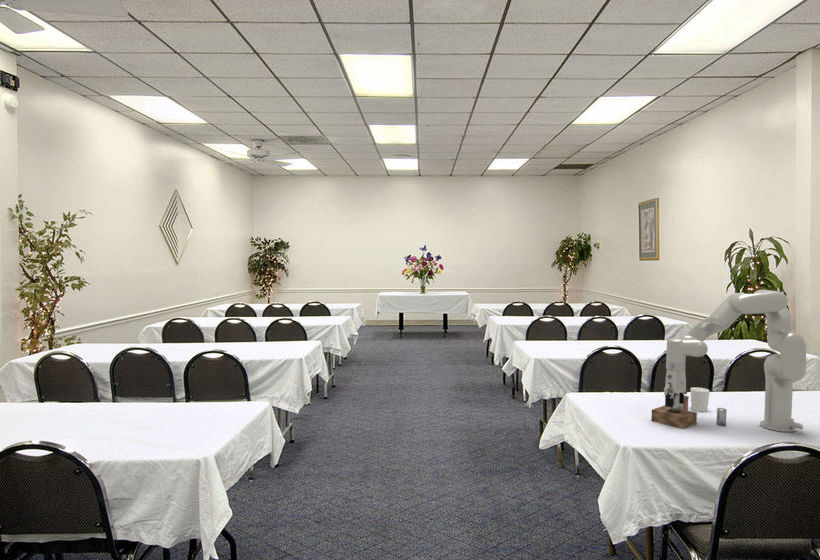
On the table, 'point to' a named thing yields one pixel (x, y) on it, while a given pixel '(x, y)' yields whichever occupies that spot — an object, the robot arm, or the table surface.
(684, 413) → the socket block
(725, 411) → the short pin
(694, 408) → the white cup
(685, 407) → the silver copper upright piece
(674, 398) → the long pin
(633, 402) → the table surface
